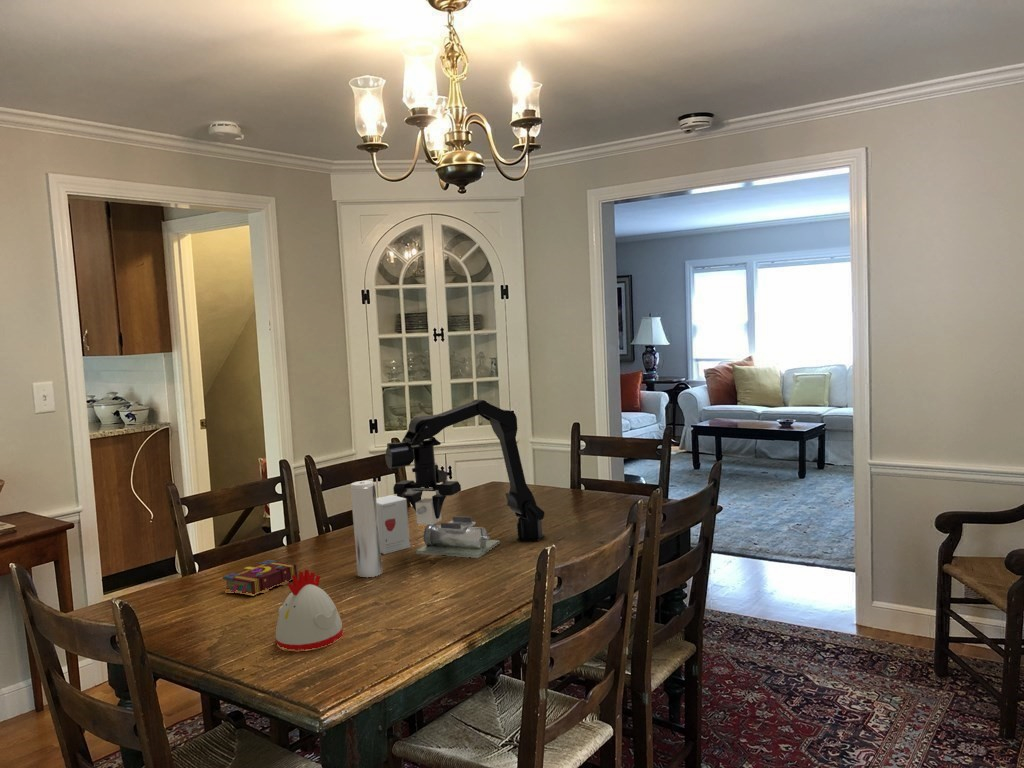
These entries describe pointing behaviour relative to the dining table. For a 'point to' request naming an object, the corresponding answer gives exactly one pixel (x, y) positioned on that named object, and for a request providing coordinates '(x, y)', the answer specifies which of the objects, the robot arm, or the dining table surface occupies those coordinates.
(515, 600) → the dining table surface
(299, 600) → the kitchen timer
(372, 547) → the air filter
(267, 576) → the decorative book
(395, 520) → the supplement box
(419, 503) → the off-white cube
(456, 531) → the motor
